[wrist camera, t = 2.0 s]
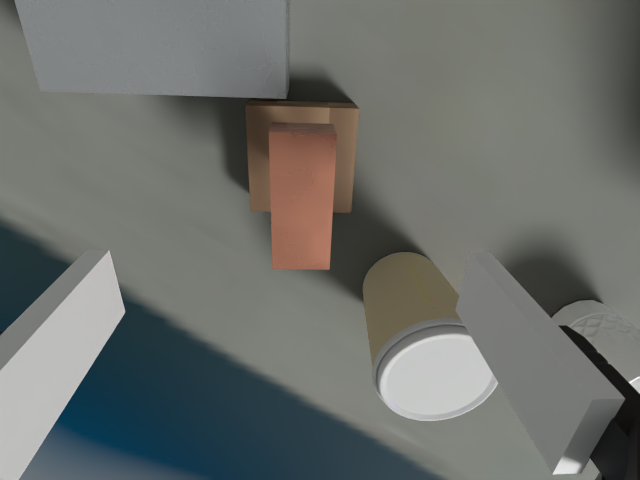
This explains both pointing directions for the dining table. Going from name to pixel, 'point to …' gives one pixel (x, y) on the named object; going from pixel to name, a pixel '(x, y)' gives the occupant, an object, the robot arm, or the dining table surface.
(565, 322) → the white cup
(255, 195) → the wooden square frame
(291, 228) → the block
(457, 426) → the dining table surface
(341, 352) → the dining table surface
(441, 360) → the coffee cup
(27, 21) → the block
